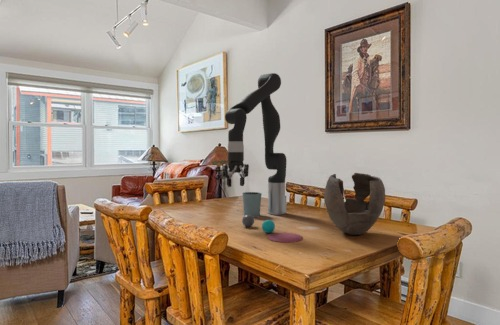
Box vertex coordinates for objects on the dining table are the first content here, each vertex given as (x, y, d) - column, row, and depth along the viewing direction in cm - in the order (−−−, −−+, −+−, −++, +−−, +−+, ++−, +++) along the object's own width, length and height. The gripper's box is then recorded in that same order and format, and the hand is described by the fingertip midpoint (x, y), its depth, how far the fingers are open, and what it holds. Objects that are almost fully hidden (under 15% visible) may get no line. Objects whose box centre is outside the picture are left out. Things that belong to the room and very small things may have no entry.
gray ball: (249, 224, 158) (249, 213, 157) (256, 227, 153) (256, 214, 153) (239, 226, 154) (239, 214, 154) (247, 228, 150) (247, 216, 150)
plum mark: (285, 231, 145) (285, 231, 145) (310, 238, 134) (310, 237, 134) (260, 236, 136) (260, 236, 136) (284, 244, 125) (284, 243, 125)
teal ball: (269, 230, 147) (269, 217, 146) (277, 233, 142) (277, 220, 142) (259, 232, 143) (259, 219, 143) (267, 235, 139) (267, 221, 139)
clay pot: (339, 225, 157) (339, 171, 156) (393, 233, 141) (394, 174, 141) (314, 235, 138) (314, 174, 137) (372, 246, 123) (373, 177, 122)
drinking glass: (240, 216, 177) (239, 193, 177) (245, 213, 187) (245, 191, 186) (258, 217, 174) (258, 194, 174) (263, 214, 184) (263, 192, 183)
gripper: (227, 151, 153) (227, 188, 153) (252, 151, 161) (252, 186, 162) (218, 151, 159) (218, 186, 159) (243, 151, 167) (243, 184, 168)
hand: (235, 186), depth 161 cm, fingers open, 6 cm apart
